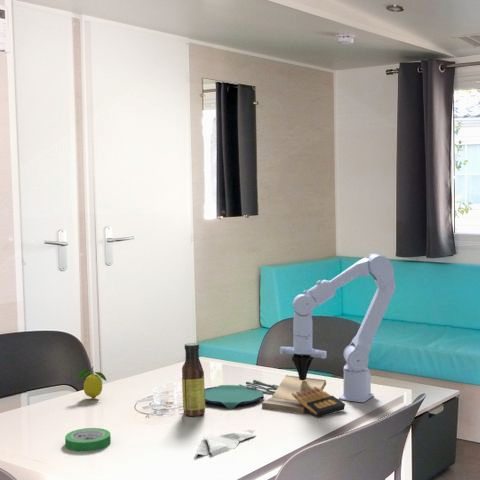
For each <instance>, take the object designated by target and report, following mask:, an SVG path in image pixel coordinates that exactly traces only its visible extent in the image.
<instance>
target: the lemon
mask: <svg viewBox="0 0 480 480" xmlns="http://www.w3.org/2000/svg"><path fill="white" fill-rule="evenodd" d="M90 372H91V374H90V375H88V374H89V373H90ZM86 375H88V376H87V377H86V378H85V380H84V383H83V392H84V394H85V395H86V396H87V397H90V398H91V399H92V400H95V399H96V398H97V397H98V396H99V395H101V394H102V391H103V381H102V380H104V381H106V382H107V378H106V376H105V374H104V373H102V372H100V371H99V372H98V371H94V365H93V366H92V368H91V369H83V370H81V371H80V372H79V374H78V376H77V379H80V378H83V377H85V376H86Z"/></svg>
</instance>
